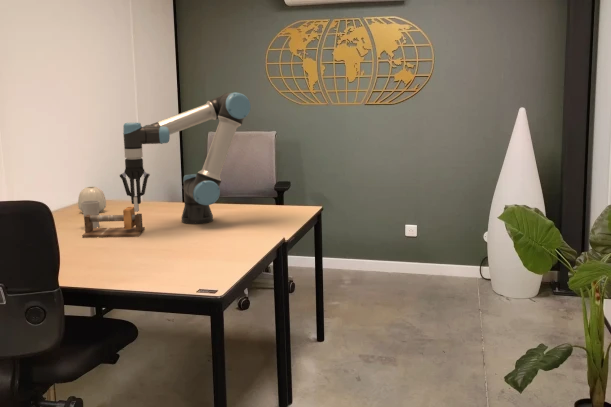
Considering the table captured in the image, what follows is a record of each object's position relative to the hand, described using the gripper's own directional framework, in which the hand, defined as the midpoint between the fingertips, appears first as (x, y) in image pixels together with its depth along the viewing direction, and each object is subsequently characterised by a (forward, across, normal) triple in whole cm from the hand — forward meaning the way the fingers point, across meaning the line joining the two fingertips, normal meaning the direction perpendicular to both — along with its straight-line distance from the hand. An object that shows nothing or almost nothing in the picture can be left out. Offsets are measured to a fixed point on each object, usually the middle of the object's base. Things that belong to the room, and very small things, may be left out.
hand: (136, 211), depth 269 cm
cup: (+10, +24, -15) cm, 30 cm away
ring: (+7, +3, 0) cm, 8 cm away
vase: (+10, +34, -52) cm, 63 cm away
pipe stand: (+10, +10, 0) cm, 14 cm away
